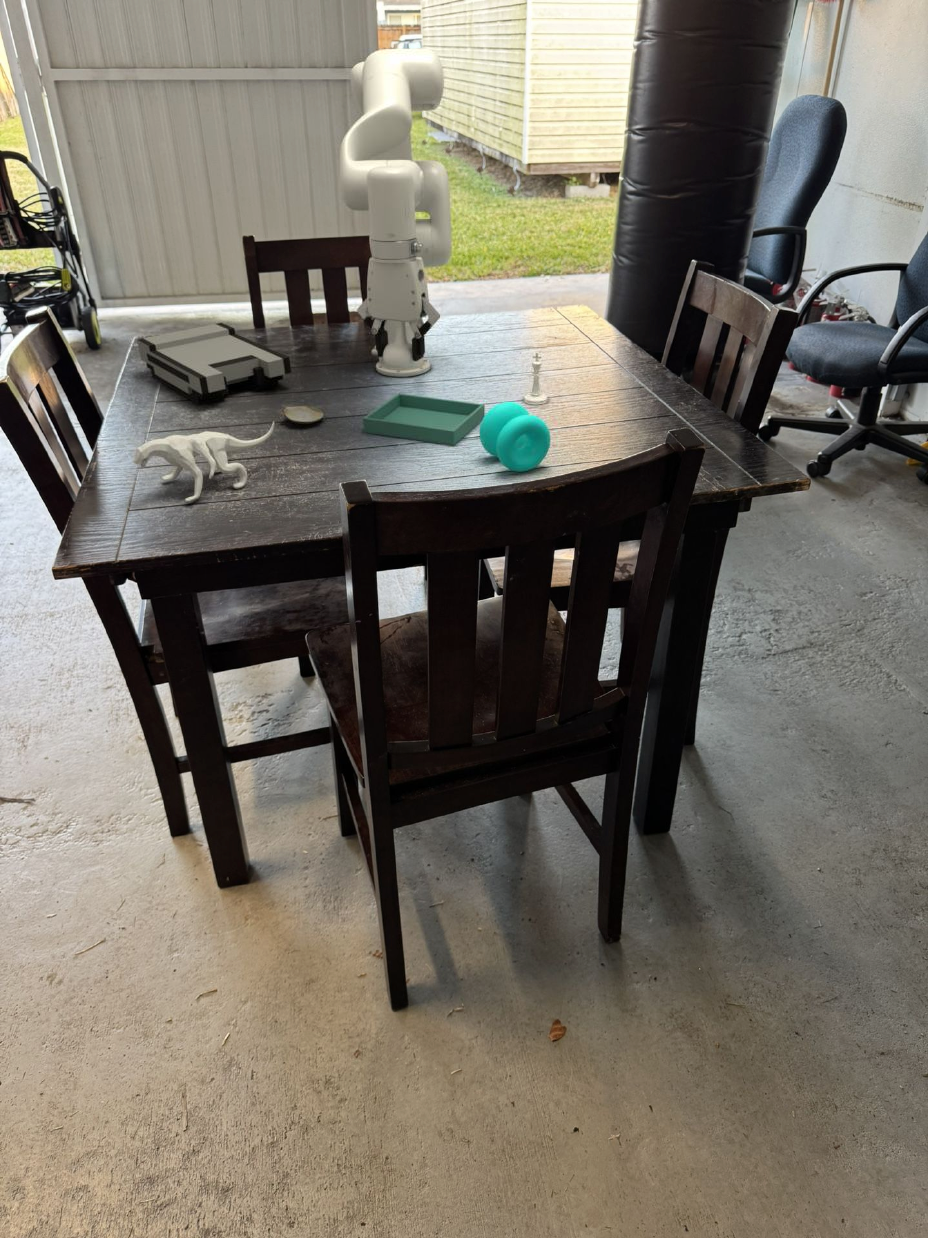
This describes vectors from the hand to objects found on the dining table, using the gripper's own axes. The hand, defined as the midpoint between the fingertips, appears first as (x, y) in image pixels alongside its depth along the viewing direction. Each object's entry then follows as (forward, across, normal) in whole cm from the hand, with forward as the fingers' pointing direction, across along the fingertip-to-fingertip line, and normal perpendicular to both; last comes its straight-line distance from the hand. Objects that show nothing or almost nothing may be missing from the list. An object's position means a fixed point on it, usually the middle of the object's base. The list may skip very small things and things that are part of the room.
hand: (400, 356), depth 151 cm
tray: (+16, 0, -8) cm, 18 cm away
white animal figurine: (+16, +23, +29) cm, 40 cm away
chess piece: (+16, -16, -29) cm, 37 cm away
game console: (+16, +55, -16) cm, 59 cm away
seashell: (+16, +24, -1) cm, 28 cm away
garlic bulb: (+2, 0, 0) cm, 2 cm away
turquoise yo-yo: (+16, -23, +3) cm, 28 cm away
